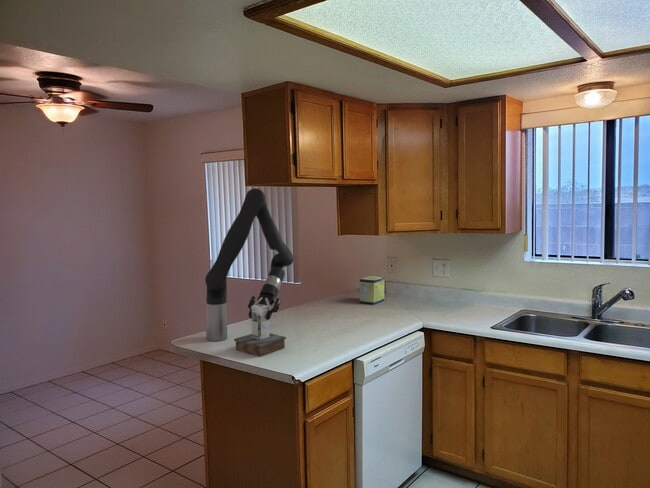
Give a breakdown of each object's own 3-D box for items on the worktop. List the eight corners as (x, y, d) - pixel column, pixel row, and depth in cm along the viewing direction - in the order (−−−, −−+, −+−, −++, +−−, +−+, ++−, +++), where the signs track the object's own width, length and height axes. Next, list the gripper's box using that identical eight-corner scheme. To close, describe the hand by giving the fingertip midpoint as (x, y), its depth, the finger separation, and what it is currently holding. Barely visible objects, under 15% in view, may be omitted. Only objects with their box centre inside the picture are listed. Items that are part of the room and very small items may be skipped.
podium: (234, 350, 212) (234, 338, 212) (260, 341, 225) (260, 331, 224) (260, 357, 202) (259, 345, 202) (286, 348, 215) (286, 337, 214)
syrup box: (251, 337, 213) (250, 305, 212) (262, 335, 217) (261, 303, 216) (259, 340, 209) (258, 307, 208) (270, 337, 213) (269, 305, 212)
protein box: (384, 300, 316) (384, 277, 314) (373, 305, 302) (374, 280, 301) (370, 299, 321) (370, 275, 320) (359, 303, 308) (359, 279, 307)
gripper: (254, 282, 220) (240, 312, 211) (282, 284, 215) (269, 315, 205) (260, 291, 226) (247, 321, 216) (287, 293, 220) (275, 324, 211)
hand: (258, 318), depth 211 cm, fingers open, 8 cm apart
